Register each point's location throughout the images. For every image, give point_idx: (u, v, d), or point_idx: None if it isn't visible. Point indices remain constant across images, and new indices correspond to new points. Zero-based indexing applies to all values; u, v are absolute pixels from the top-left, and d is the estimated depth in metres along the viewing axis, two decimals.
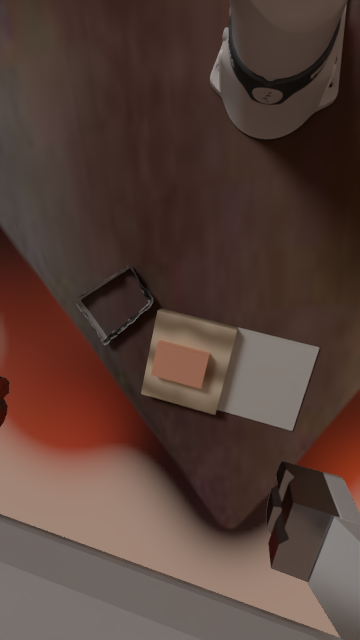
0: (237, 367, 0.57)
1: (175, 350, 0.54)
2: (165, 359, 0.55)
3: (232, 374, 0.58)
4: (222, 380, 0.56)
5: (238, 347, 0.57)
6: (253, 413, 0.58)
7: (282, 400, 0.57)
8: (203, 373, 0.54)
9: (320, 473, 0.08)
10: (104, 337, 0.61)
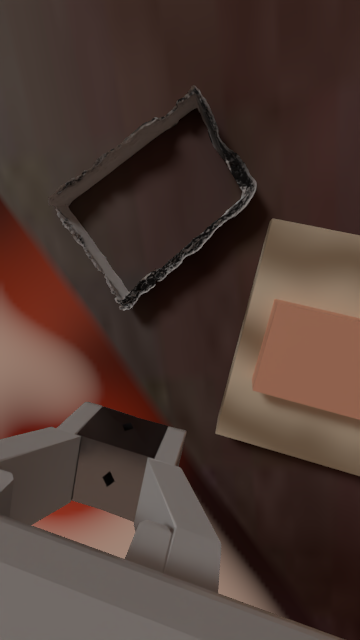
0: None
1: (329, 324, 0.19)
2: (298, 350, 0.20)
3: None
4: None
5: None
6: None
7: None
8: None
9: (165, 426, 0.08)
10: (123, 294, 0.26)
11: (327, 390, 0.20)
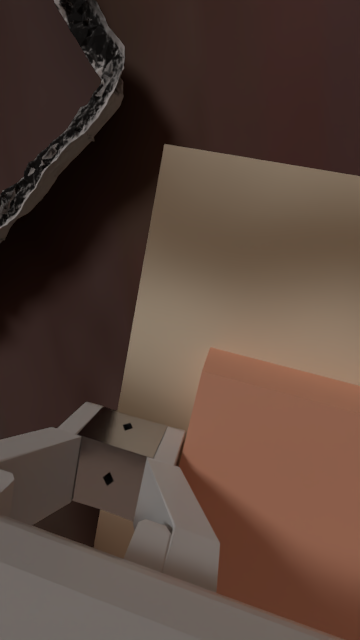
0: None
1: (343, 434, 0.07)
2: (259, 494, 0.08)
3: None
4: None
5: None
6: None
7: None
8: None
9: (164, 426, 0.08)
10: None
11: (338, 599, 0.08)
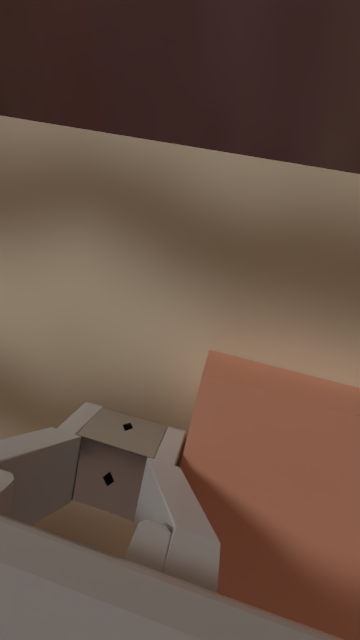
0: None
1: (344, 437, 0.07)
2: (259, 497, 0.07)
3: None
4: None
5: None
6: None
7: None
8: None
9: (165, 426, 0.08)
10: None
11: (338, 601, 0.08)
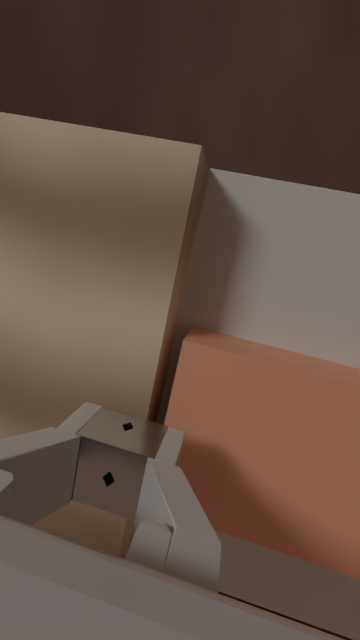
0: None
1: (288, 386, 0.09)
2: (227, 435, 0.10)
3: None
4: None
5: (219, 277, 0.11)
6: (290, 590, 0.13)
7: None
8: None
9: (165, 426, 0.08)
10: None
11: (287, 516, 0.10)
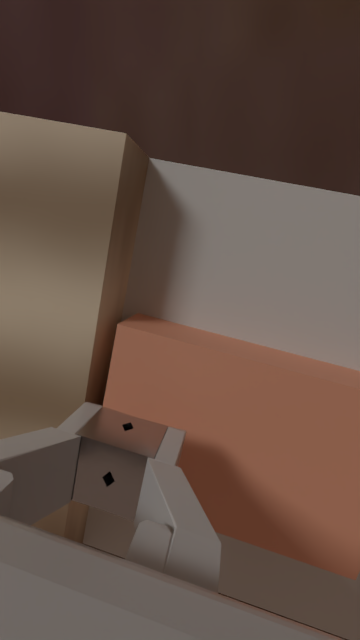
0: None
1: (217, 369, 0.09)
2: (161, 417, 0.10)
3: None
4: None
5: (161, 265, 0.11)
6: (237, 573, 0.13)
7: None
8: None
9: (165, 426, 0.08)
10: None
11: (221, 497, 0.10)
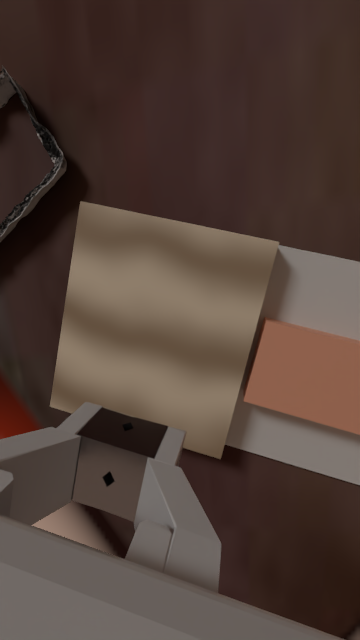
0: None
1: (312, 341, 0.21)
2: (284, 364, 0.22)
3: None
4: (239, 374, 0.23)
5: (278, 294, 0.23)
6: (310, 454, 0.25)
7: None
8: None
9: (165, 426, 0.08)
10: None
11: (311, 401, 0.22)
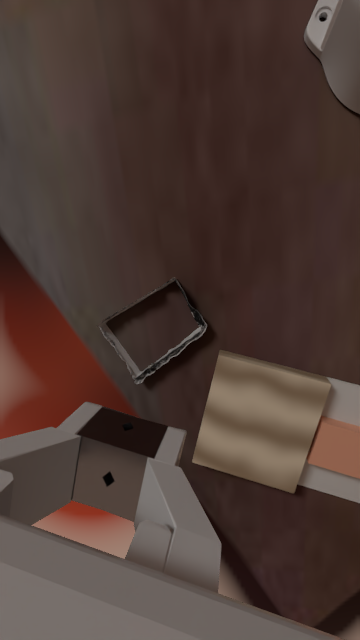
0: None
1: (348, 434, 0.40)
2: (332, 444, 0.41)
3: None
4: (306, 449, 0.41)
5: (327, 403, 0.42)
6: (343, 489, 0.44)
7: None
8: None
9: (165, 426, 0.08)
10: (136, 373, 0.46)
11: (346, 464, 0.41)
